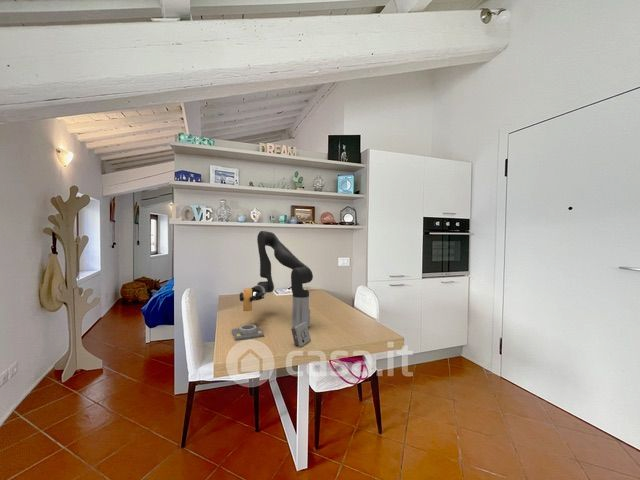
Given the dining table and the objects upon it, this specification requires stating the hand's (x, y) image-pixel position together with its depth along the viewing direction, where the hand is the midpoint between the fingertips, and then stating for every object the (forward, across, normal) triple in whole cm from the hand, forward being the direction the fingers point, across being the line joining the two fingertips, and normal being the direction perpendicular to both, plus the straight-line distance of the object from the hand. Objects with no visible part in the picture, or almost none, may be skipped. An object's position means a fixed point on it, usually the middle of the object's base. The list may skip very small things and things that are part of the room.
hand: (245, 299), depth 139 cm
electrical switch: (+7, +30, +18) cm, 36 cm away
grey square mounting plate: (-1, +1, +18) cm, 18 cm away
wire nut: (-3, 0, +6) cm, 7 cm away
